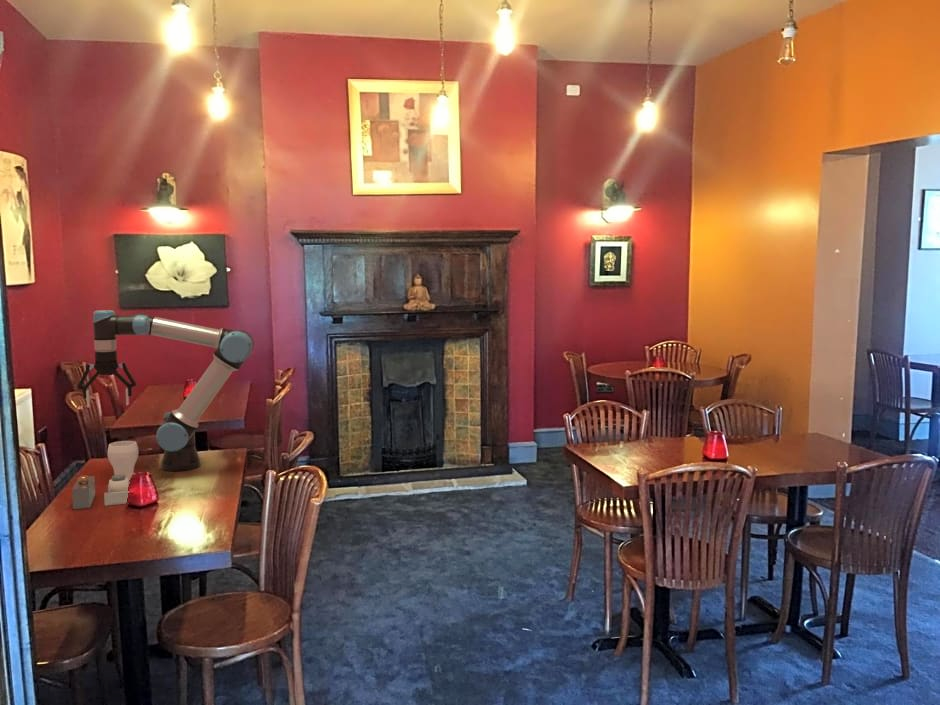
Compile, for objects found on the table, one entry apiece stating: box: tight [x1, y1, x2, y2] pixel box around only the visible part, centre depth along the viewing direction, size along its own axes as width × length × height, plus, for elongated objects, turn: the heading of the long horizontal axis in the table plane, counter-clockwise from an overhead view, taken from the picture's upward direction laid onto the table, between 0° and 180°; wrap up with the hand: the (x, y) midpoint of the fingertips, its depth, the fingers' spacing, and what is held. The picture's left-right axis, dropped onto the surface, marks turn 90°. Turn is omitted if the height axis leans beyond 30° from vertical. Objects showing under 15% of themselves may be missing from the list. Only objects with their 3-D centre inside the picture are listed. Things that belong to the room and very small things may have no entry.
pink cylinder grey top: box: [108, 475, 128, 492], centre depth 261 cm, size 6×6×8 cm
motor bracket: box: [71, 475, 130, 510], centre depth 259 cm, size 18×16×9 cm
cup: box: [107, 440, 139, 482], centre depth 282 cm, size 11×11×15 cm
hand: (108, 405), depth 284 cm, fingers open, 13 cm apart
